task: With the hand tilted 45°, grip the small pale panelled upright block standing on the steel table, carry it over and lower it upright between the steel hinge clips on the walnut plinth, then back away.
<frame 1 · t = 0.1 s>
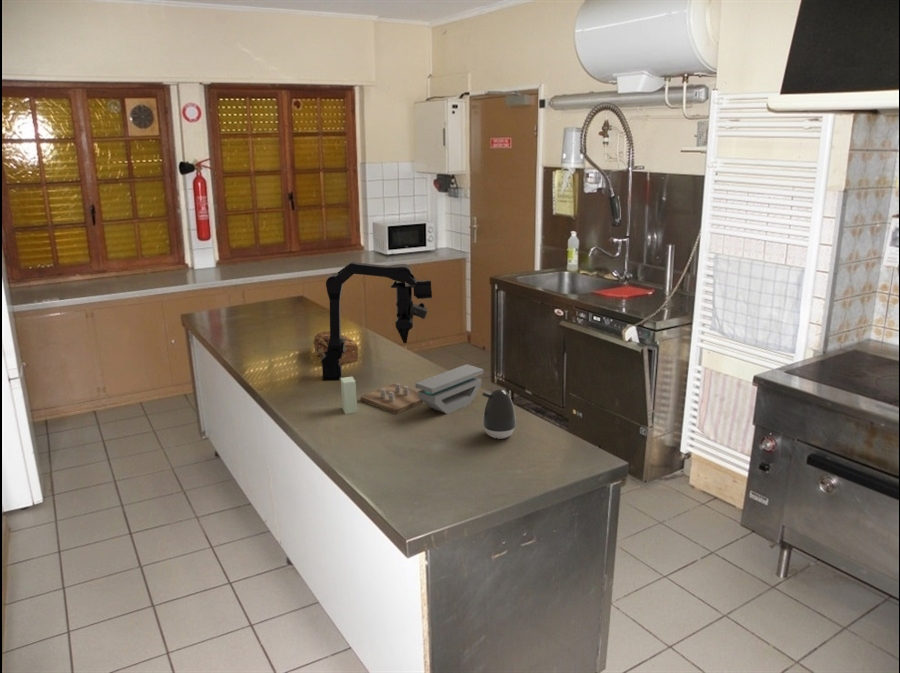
hand: (405, 339, 260), 15 cm above the table, tool pointing down, fingers open, 9 cm apart
pale panelled upright block: (349, 410, 233), on the table
hinge plinth: (395, 400, 241), on the table
bread: (336, 358, 286), on the table
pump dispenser: (498, 435, 214), on the table
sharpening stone: (450, 406, 236), on the table
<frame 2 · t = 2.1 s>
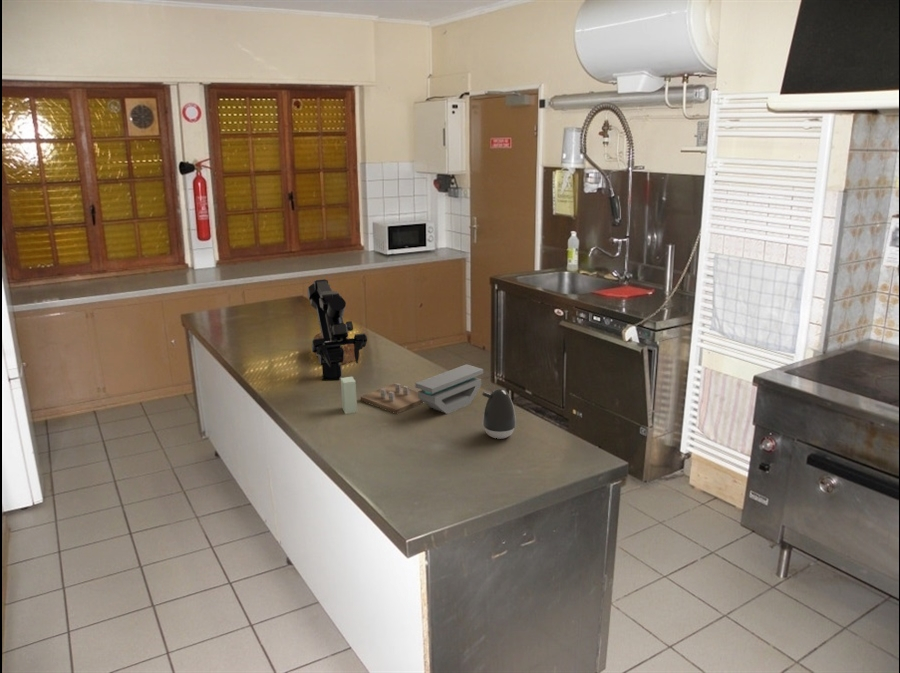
hand: (343, 364, 237), 13 cm above the table, tool tilted 45°, fingers open, 9 cm apart
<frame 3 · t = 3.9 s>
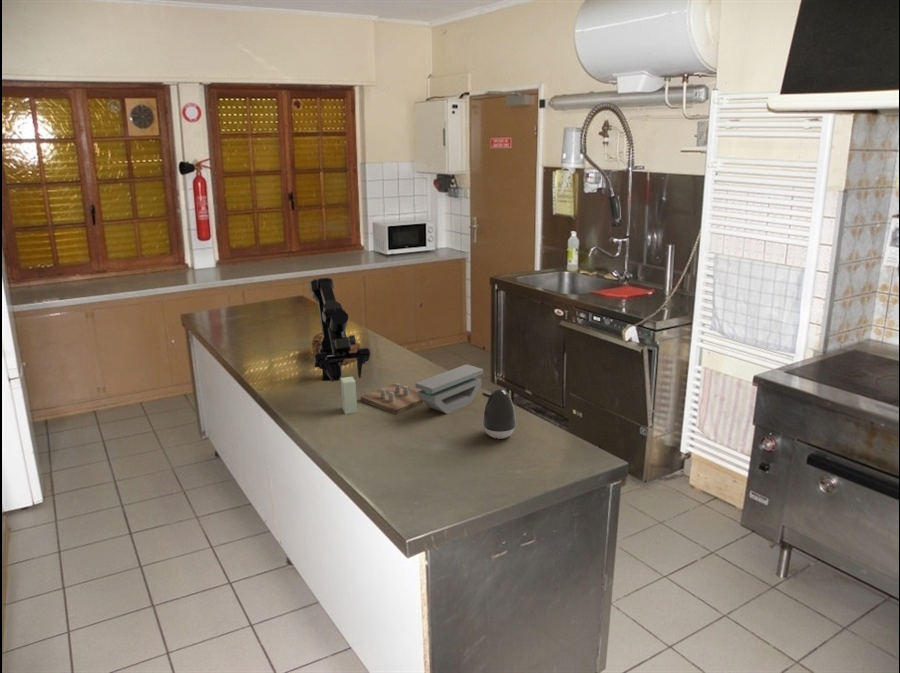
hand: (346, 379, 233), 10 cm above the table, tool tilted 45°, fingers open, 9 cm apart
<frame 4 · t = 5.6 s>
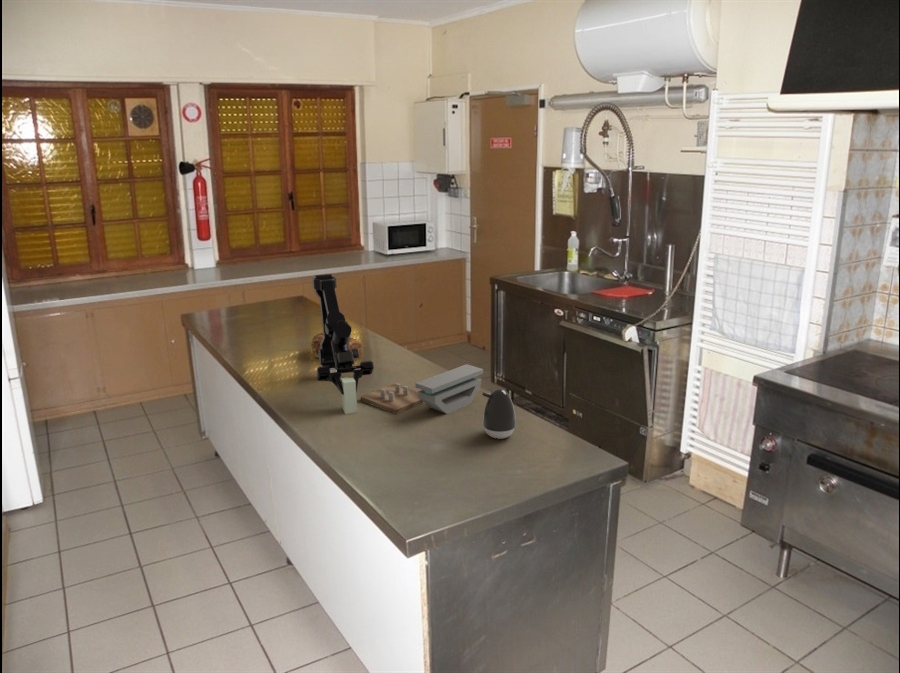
hand: (349, 393, 230), 7 cm above the table, tool tilted 45°, fingers closed on pale panelled upright block, 4 cm apart
pale panelled upright block: (349, 410, 233), on the table, touching gripper
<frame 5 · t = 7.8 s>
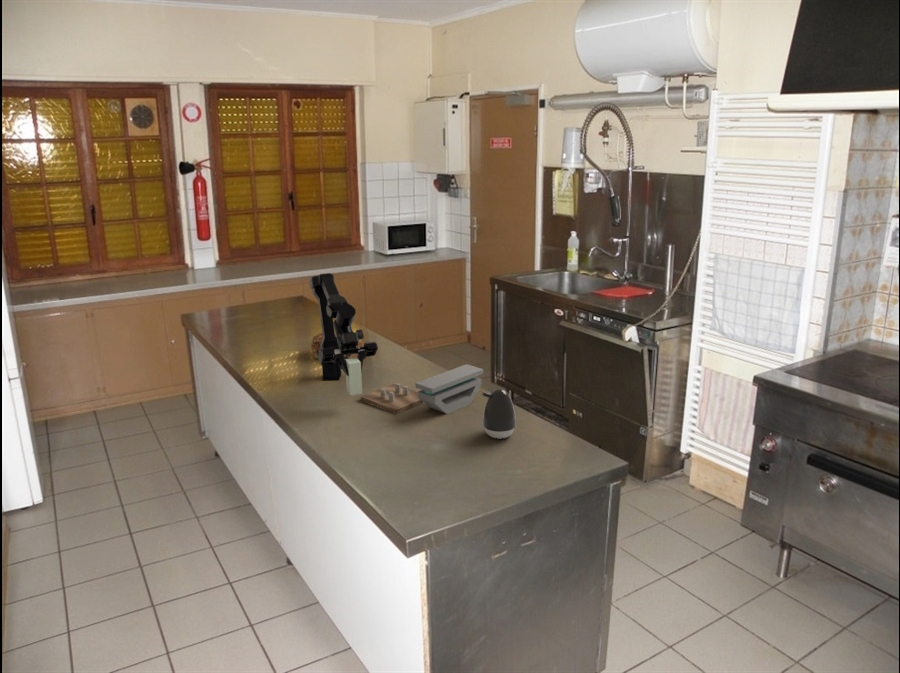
hand: (354, 374, 229), 13 cm above the table, tool tilted 45°, fingers closed on pale panelled upright block, 4 cm apart
pale panelled upright block: (354, 391, 232), point 6 cm above the table, touching gripper
when the fingers open (9 cm above the table, at t = 10.0 s): pale panelled upright block drops 1 cm, resting on hinge plinth.
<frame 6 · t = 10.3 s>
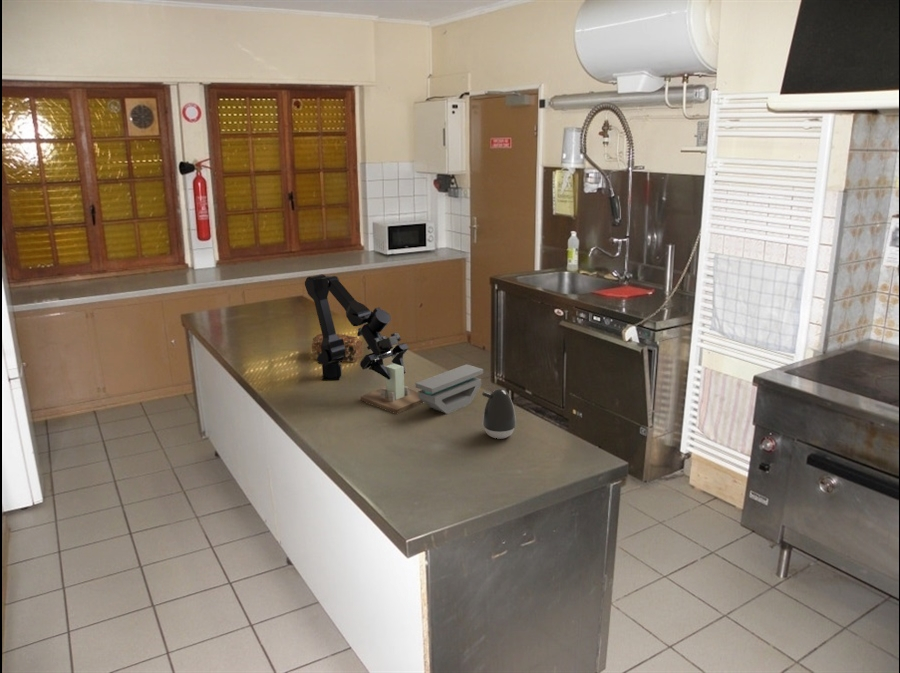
hand: (397, 376, 238), 9 cm above the table, tool tilted 45°, fingers open, 7 cm apart
pale panelled upright block: (395, 396, 241), point 1 cm above the table, touching hinge plinth
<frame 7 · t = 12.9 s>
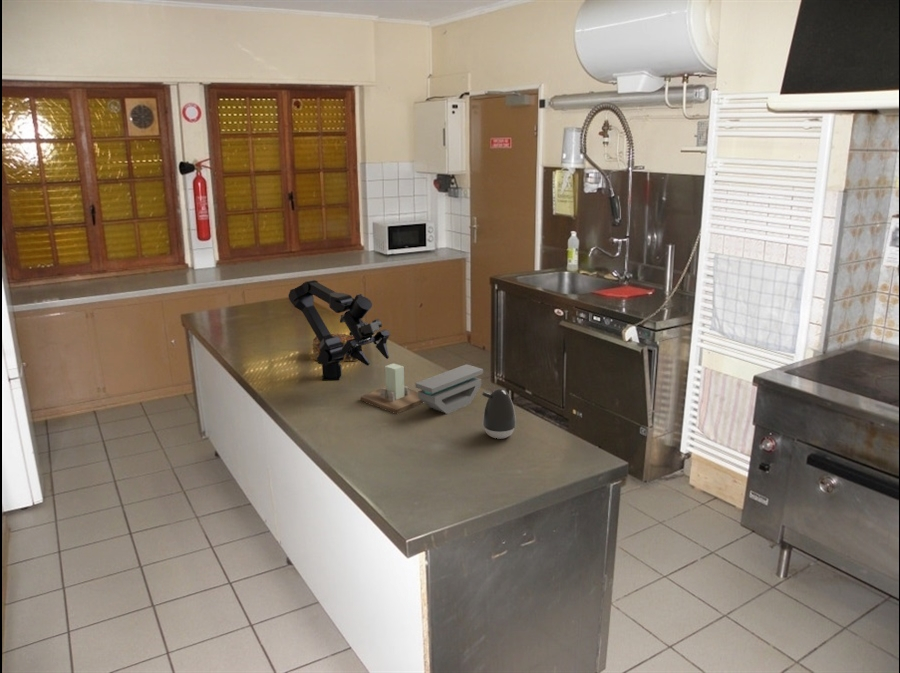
hand: (378, 361, 243), 12 cm above the table, tool tilted 45°, fingers open, 9 cm apart
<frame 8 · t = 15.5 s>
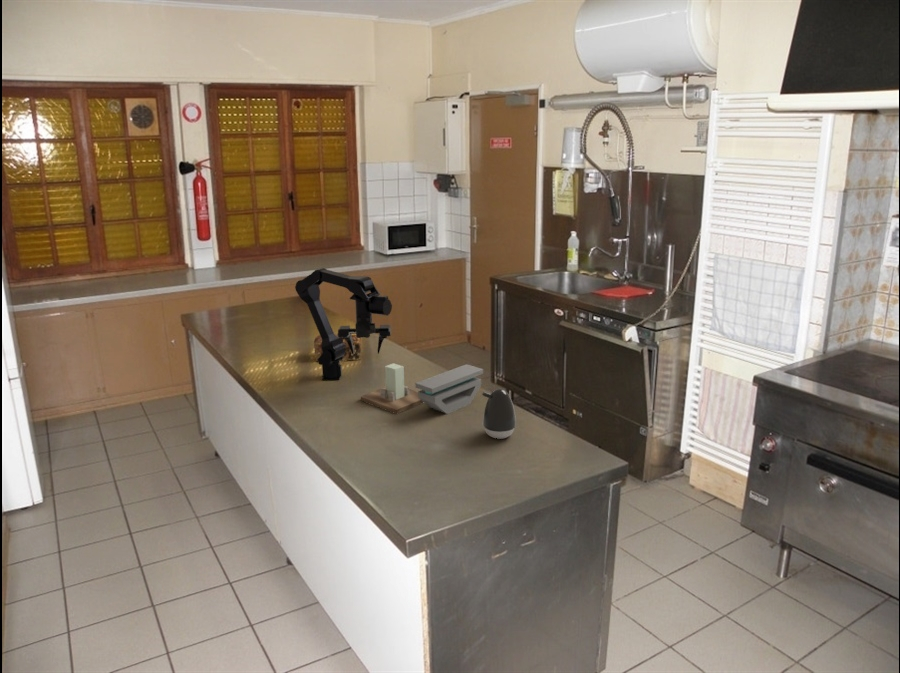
hand: (365, 353, 253), 12 cm above the table, tool pointing down, fingers open, 9 cm apart
at the end: pale panelled upright block 0.1 cm off-centre on the hinge plinth, point 1.5 cm above the hinge plinth's base; pale panelled upright block tilted 0°; the gripper is holding nothing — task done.
